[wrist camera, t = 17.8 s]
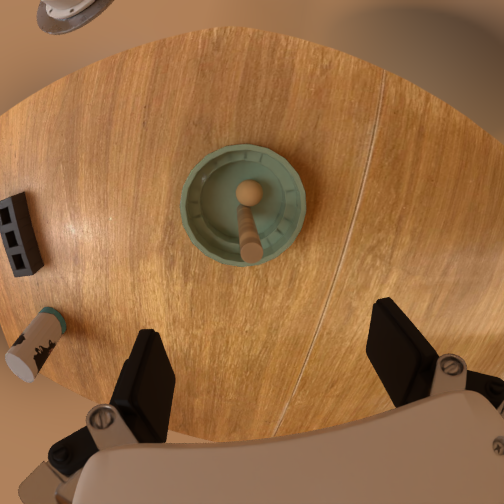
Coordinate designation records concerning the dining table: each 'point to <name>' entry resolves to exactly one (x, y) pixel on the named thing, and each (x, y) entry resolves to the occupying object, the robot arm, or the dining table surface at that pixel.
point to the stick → (248, 235)
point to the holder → (19, 236)
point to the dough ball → (249, 192)
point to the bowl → (225, 203)
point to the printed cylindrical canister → (35, 344)
